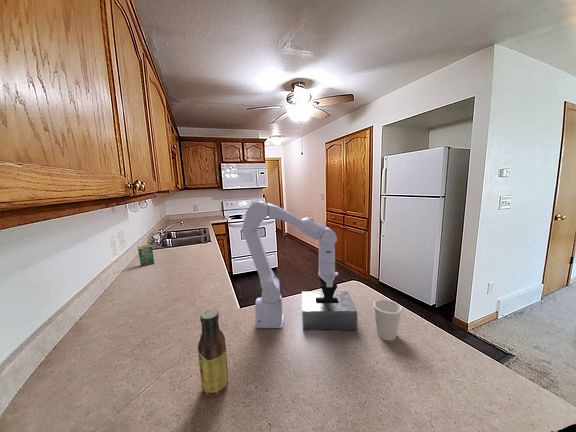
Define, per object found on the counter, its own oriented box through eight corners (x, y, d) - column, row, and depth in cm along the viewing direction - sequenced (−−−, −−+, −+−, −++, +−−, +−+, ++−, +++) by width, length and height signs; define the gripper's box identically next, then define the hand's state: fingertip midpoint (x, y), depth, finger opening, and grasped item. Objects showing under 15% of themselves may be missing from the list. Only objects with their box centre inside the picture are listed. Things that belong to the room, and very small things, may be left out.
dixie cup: (379, 323, 77) (379, 296, 76) (404, 334, 72) (406, 305, 70) (368, 335, 72) (368, 306, 70) (395, 347, 66) (396, 316, 64)
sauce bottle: (206, 377, 57) (200, 305, 55) (230, 375, 58) (225, 303, 55) (198, 402, 51) (190, 321, 48) (225, 399, 51) (220, 319, 49)
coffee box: (140, 266, 143) (137, 247, 142) (139, 265, 146) (137, 246, 144) (154, 263, 148) (152, 244, 146) (154, 262, 150) (152, 244, 149)
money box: (303, 330, 75) (302, 311, 74) (302, 308, 89) (301, 291, 88) (356, 330, 74) (357, 311, 73) (347, 308, 88) (347, 291, 87)
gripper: (342, 268, 71) (342, 308, 73) (334, 254, 86) (334, 288, 87) (320, 268, 72) (320, 308, 73) (316, 255, 86) (316, 288, 88)
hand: (326, 297), depth 80 cm, fingers open, 7 cm apart
